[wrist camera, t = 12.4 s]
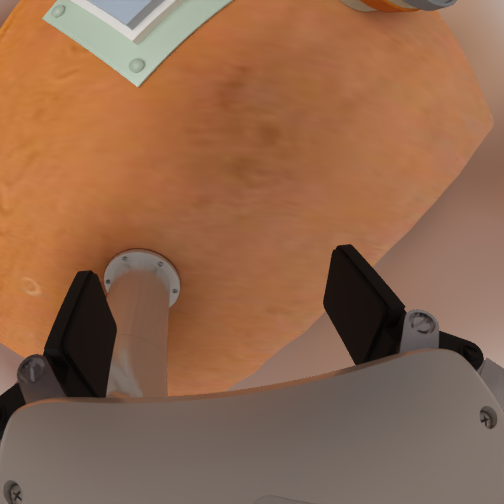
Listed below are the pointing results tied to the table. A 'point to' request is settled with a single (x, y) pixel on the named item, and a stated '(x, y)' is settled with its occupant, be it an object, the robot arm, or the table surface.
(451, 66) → the table surface
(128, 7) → the stepped tiered stack
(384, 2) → the reusable coffee cup
